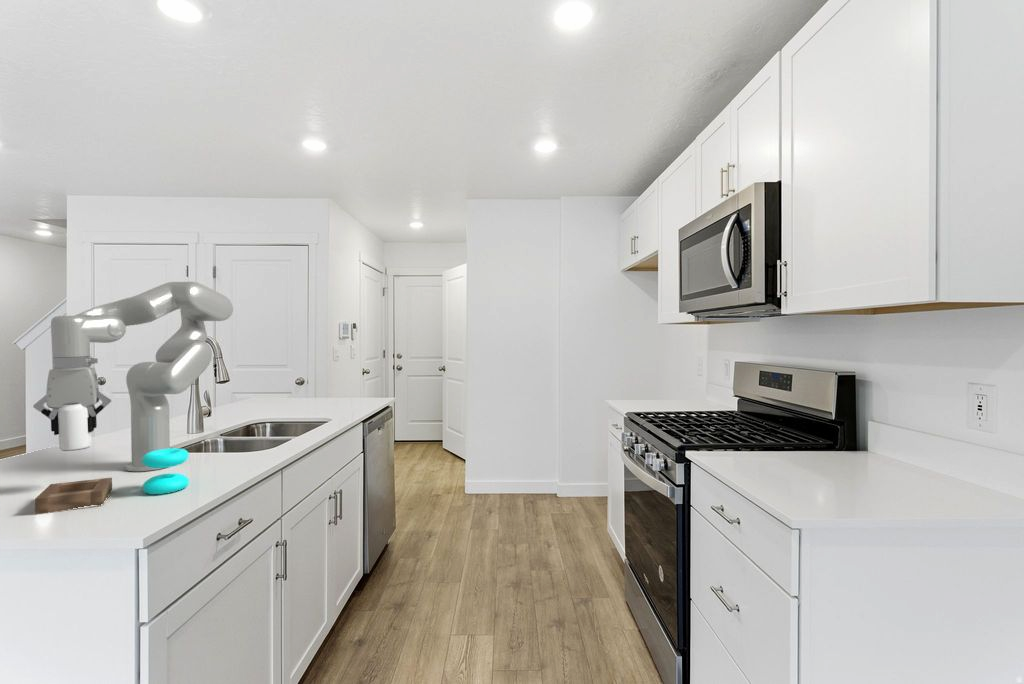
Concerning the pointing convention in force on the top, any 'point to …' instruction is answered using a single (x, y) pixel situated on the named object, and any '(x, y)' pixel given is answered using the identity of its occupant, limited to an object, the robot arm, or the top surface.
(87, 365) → the robot arm
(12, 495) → the top surface
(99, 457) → the top surface
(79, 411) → the can
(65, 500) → the socket block
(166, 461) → the donuts
